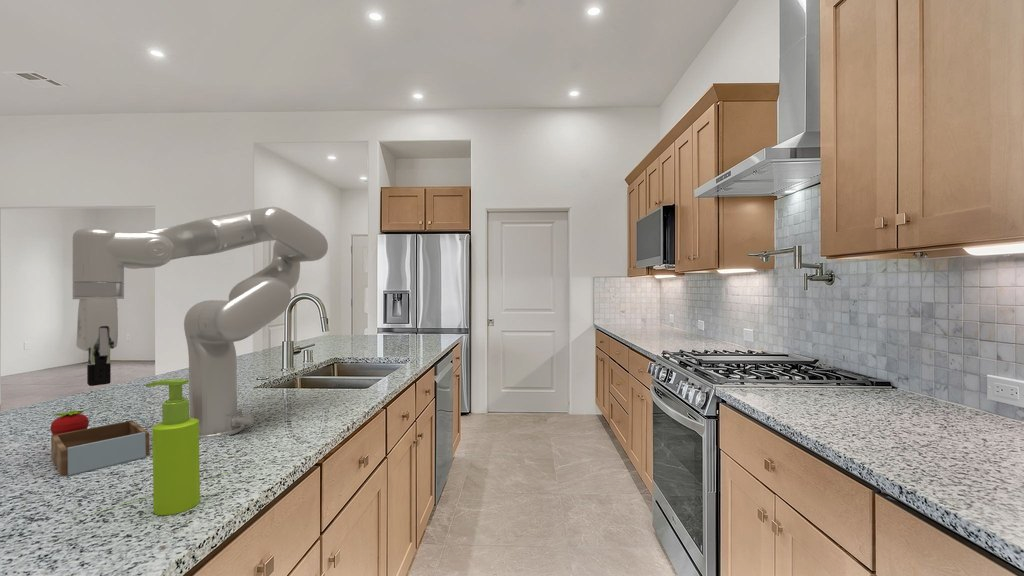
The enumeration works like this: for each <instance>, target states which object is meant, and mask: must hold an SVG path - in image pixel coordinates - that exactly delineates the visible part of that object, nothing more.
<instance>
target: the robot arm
mask: <svg viewBox="0 0 1024 576" xmlns="http://www.w3.org/2000/svg"><path fill="white" fill-rule="evenodd" d="M270 241H271V242H272V241H275V242H274V244H273V250H272V251H273V252H272V259H271V263H270V264H268V265H267V266H265V267H264V268H263V269H261V270H259V271H257V272H255V274H252V275H251V276H249V277H246V278H245V279H243V280H242V281H239V282H238V283H237V284H235V285H234V286H233V287H232V289H231V290H230V292H229V294H228V300H223V299H222V300H220V299H219V300H214V299H211V300H210V299H209V300H203V301H200V302H197V303H196V304H194V305H193V306H191V307H190V308H189V309H188V310H187V312H186V314H185V317H184V321H183V329H184V334H185V340H186V345H187V352H188V393H189V394H188V400H189V418H195V419H198V420H199V439H200V438H202V439H204V438H211V437H218V436H222V435H227V436H232V435H235V434H237V433H240V432H242V431H243V430H244V429H245V428H246V425H250V426H251V425H253V424H254V423H255V422H254V421H255V417H254V415H253V414H243V412H242V409H241V408H240V409H238V379H237V378H238V377H237V374H238V372H237V369H238V368H237V365H238V363H237V362H238V361H237V360H238V359H237V351H236V346H235V343H234V342H240V341H243V340H245V339H247V338H249V337H250V336H252V335H254V334H256V333H257V332H258V331H259V330H261V329H263V328H264V327H265V326H266V325H268V324H270V323H271V322H273V321H274V320H276V319H277V318H279V317H280V316H281V315H282V314H283V313H284V312H285V311H286V310H287V308H288V307H289V305H290V303H291V301H292V292H291V290H293V288H295V287H296V285H297V284H298V282H299V279H300V274H301V273H300V272H301V263H303V262H315V261H318V260H320V259H322V258H323V257H325V256H326V254H327V252H328V250H329V244H328V241H327V239H326V237H325V235H324V234H323V233H322V231H320V230H319V229H317V228H315V227H314V226H312V225H310V224H309V223H307V222H306V221H304V219H303V220H302V219H301V218H300V217H298V216H297V215H294V214H293V213H291V212H289V211H287V210H285V209H283V208H281V207H276V206H268V207H263V208H255V209H250V210H245V211H243V210H242V211H238V212H234V213H228V214H227V213H226V214H223V215H222V214H221V215H217V216H212V217H211V216H210V217H205V218H201V219H196V220H193V221H189V222H185V223H182V224H178V225H172V226H167V227H164V228H163V227H162V228H156V229H153V230H146V231H142V232H141V231H140V232H139V231H138V232H137V231H136V232H135V231H133V232H132V231H131V232H129V231H124V232H123V231H116V230H112V229H107V228H106V229H103V228H80V229H76V230H75V231H74V233H73V235H72V300H79V302H78V308H77V328H76V347H77V348H78V349H80V350H82V351H85V352H87V366H86V368H87V369H86V371H87V373H86V375H87V378H86V379H87V380H86V383H87V385H88V386H90V387H94V386H102V385H109V384H111V382H112V381H111V379H112V377H111V375H112V374H111V373H112V372H111V368H112V367H111V364H112V363H110V362H111V350H112V349H115V348H116V347H117V346H118V337H119V334H118V333H119V319H118V317H119V316H118V312H119V311H118V310H119V309H118V308H119V307H118V300H119V299H120V300H123V299H125V268H126V269H133V270H135V269H136V270H138V269H154V268H159V267H162V266H164V265H167V264H168V263H170V261H172V260H178V259H183V258H188V257H198V256H199V257H200V256H208V255H214V254H219V253H223V252H228V251H233V250H234V249H235V250H236V249H239V248H244V247H247V246H252V245H255V244H259V243H263V242H270Z"/></svg>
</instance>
